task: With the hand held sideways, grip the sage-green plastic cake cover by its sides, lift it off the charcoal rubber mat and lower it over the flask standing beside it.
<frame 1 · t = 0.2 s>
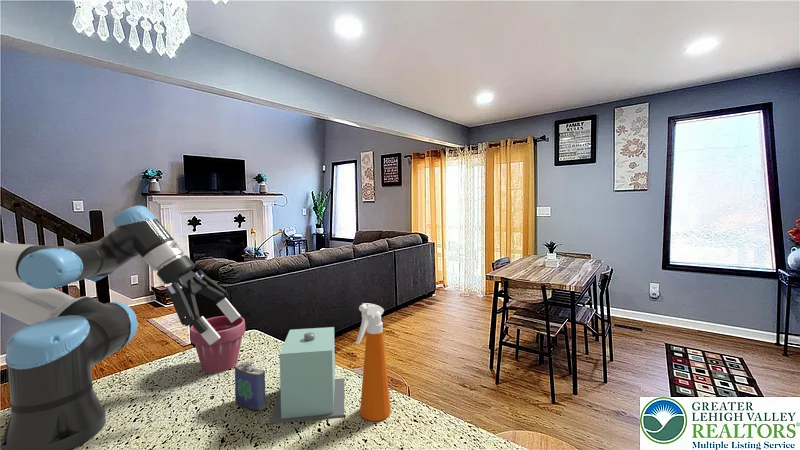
hand: (226, 329, 86), 16 cm above the countertop, tool tilted 35°, fingers open, 13 cm apart
rubber mat: (310, 399, 83), on the countertop
flask: (249, 406, 81), on the countertop
cake cover: (310, 366, 82), on the rubber mat
spray bottle: (371, 417, 76), on the countertop
plant pot: (219, 366, 100), on the countertop
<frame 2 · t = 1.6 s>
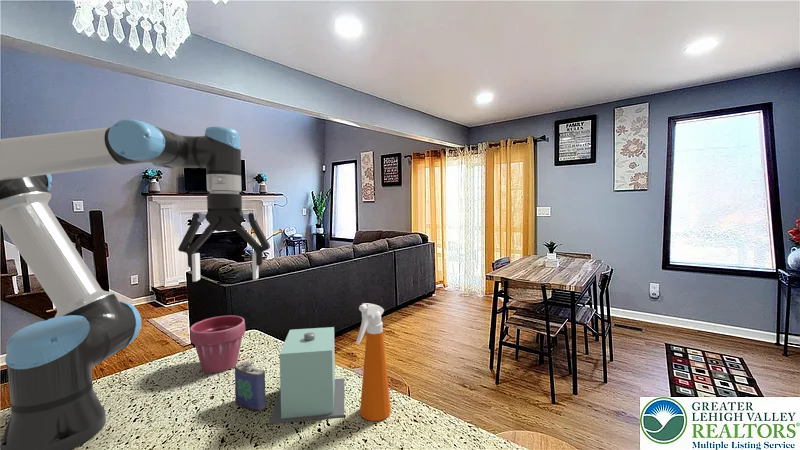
hand: (226, 279, 84), 29 cm above the countertop, tool pointing down, fingers open, 13 cm apart
nothing on the countertop moved.
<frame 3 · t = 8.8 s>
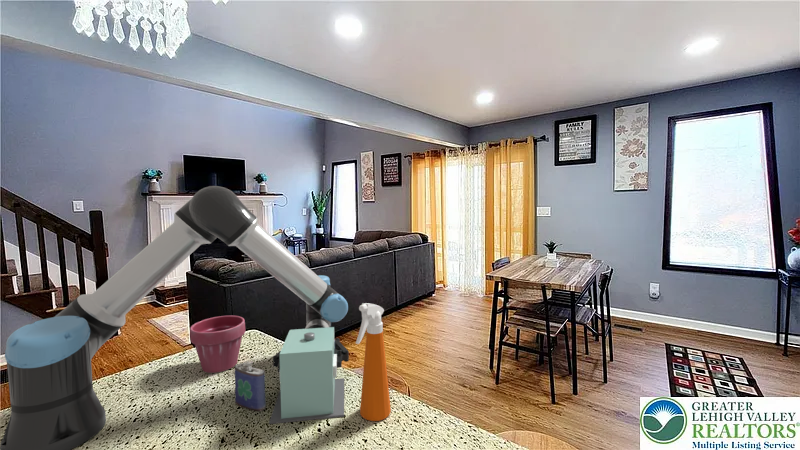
hand: (308, 374, 78), 8 cm above the countertop, tool horizontal, fingers closed on cake cover, 11 cm apart
cake cover: (310, 366, 82), on the rubber mat, touching gripper
everything else where it was.
when the fingers open (9 cm above the countertop, at t = 17.9 s): cake cover drops 1 cm, on the countertop.
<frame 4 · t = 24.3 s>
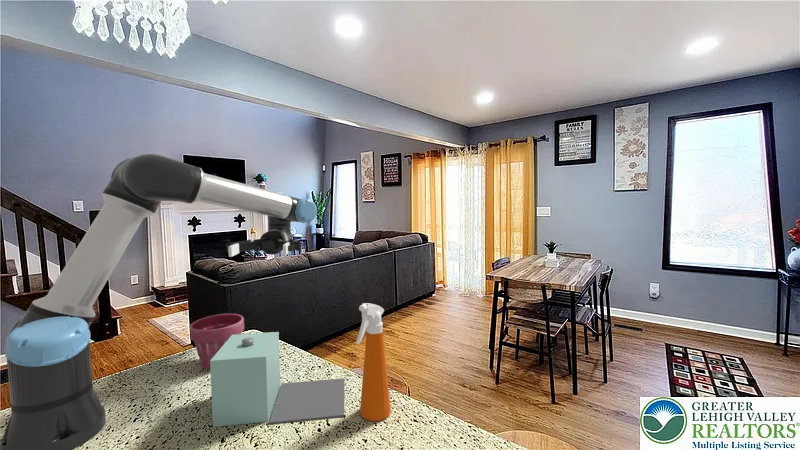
hand: (257, 251, 90), 35 cm above the countertop, tool horizontal, fingers open, 13 cm apart
cake cover: (248, 372, 80), on the countertop
plant pot: (219, 363, 102), on the countertop
everything else where it was.
at the end: cake cover 0.1 cm from the flask (horizontally); cake cover on the countertop; flask tilted 0° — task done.
